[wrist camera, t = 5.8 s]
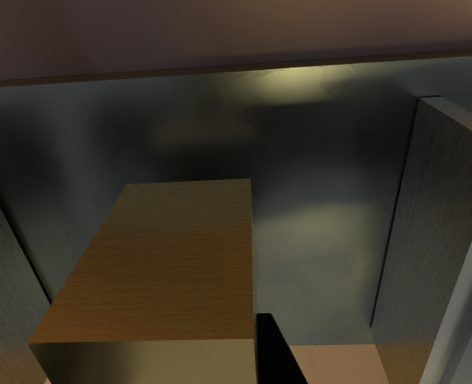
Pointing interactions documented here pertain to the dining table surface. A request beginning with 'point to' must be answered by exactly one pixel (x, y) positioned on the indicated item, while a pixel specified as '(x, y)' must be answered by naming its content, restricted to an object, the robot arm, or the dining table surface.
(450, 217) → the vise
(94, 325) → the block
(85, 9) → the dining table surface
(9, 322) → the jaw
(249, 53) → the dining table surface
